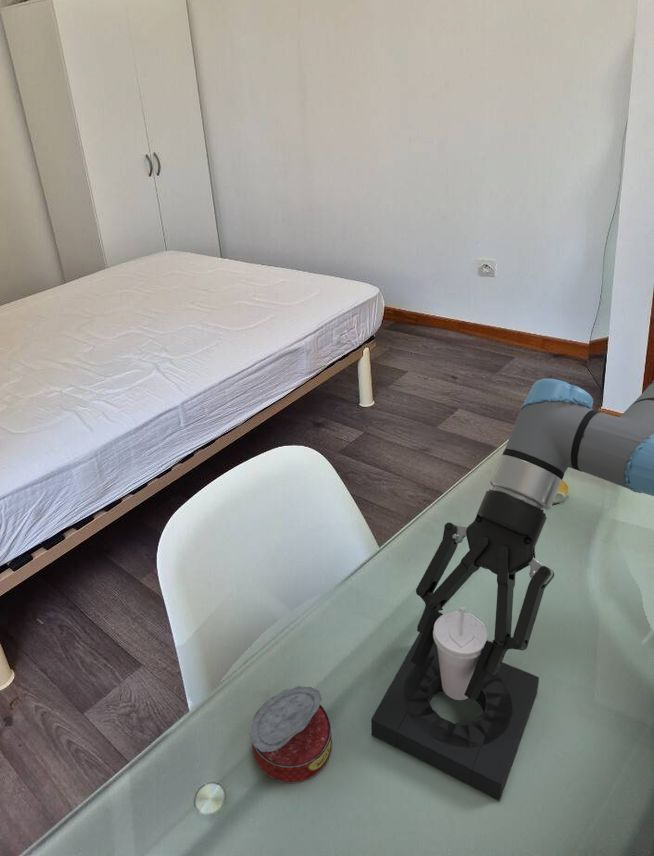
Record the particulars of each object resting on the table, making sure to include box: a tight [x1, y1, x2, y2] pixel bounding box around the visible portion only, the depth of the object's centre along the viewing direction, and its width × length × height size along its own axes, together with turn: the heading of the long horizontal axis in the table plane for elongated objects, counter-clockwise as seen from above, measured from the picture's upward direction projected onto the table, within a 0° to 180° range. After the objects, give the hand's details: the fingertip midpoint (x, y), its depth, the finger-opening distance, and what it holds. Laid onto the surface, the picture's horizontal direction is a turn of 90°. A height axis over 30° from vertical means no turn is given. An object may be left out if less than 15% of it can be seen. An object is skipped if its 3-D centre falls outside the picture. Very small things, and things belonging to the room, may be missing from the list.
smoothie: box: [433, 605, 490, 701], centre depth 82 cm, size 6×6×14 cm
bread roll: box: [552, 479, 570, 504], centre depth 126 cm, size 8×9×4 cm
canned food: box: [249, 685, 333, 784], centre depth 84 cm, size 11×10×10 cm
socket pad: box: [370, 632, 540, 802], centre depth 87 cm, size 16×16×3 cm
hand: (443, 679), depth 81 cm, fingers closed on smoothie, 6 cm apart
